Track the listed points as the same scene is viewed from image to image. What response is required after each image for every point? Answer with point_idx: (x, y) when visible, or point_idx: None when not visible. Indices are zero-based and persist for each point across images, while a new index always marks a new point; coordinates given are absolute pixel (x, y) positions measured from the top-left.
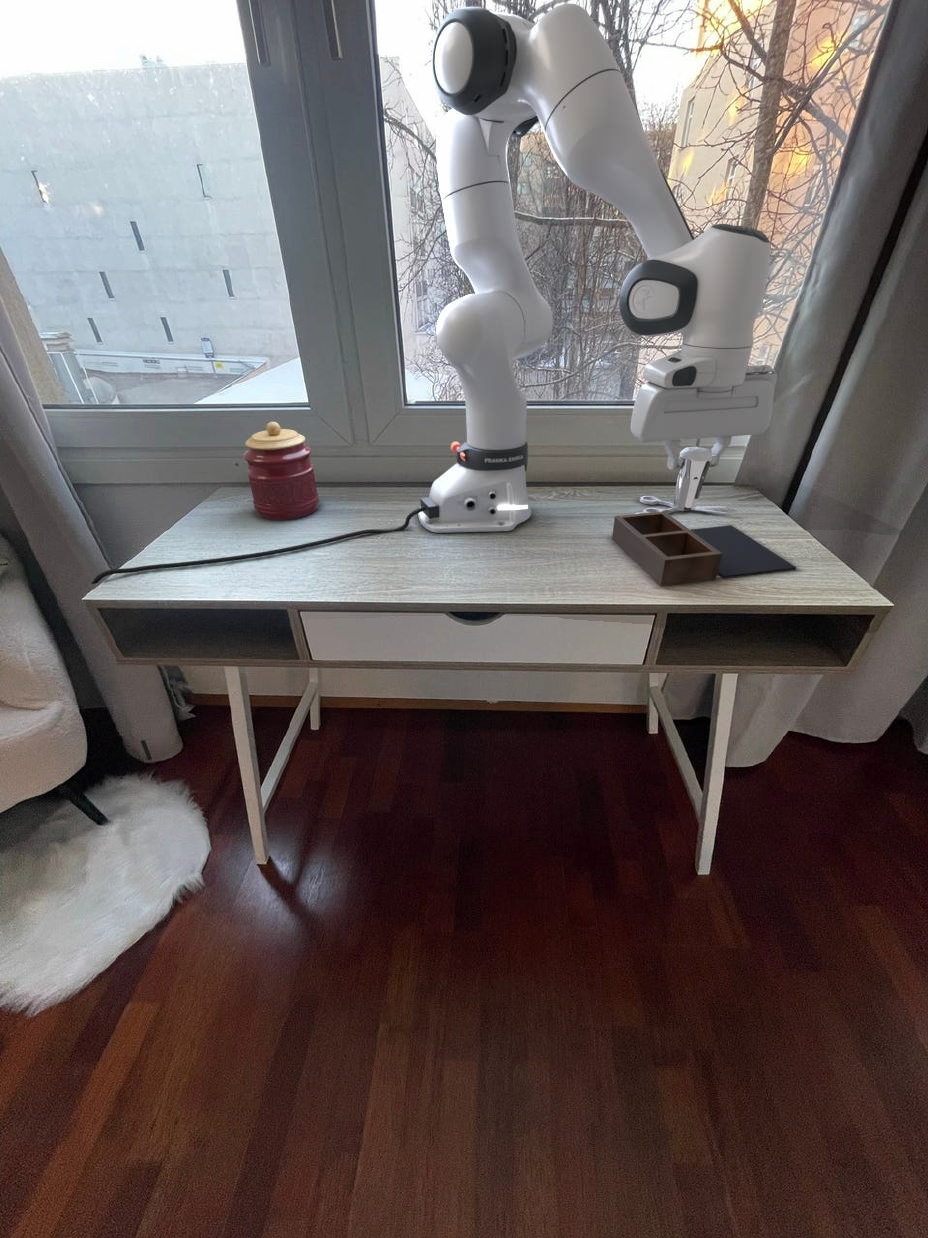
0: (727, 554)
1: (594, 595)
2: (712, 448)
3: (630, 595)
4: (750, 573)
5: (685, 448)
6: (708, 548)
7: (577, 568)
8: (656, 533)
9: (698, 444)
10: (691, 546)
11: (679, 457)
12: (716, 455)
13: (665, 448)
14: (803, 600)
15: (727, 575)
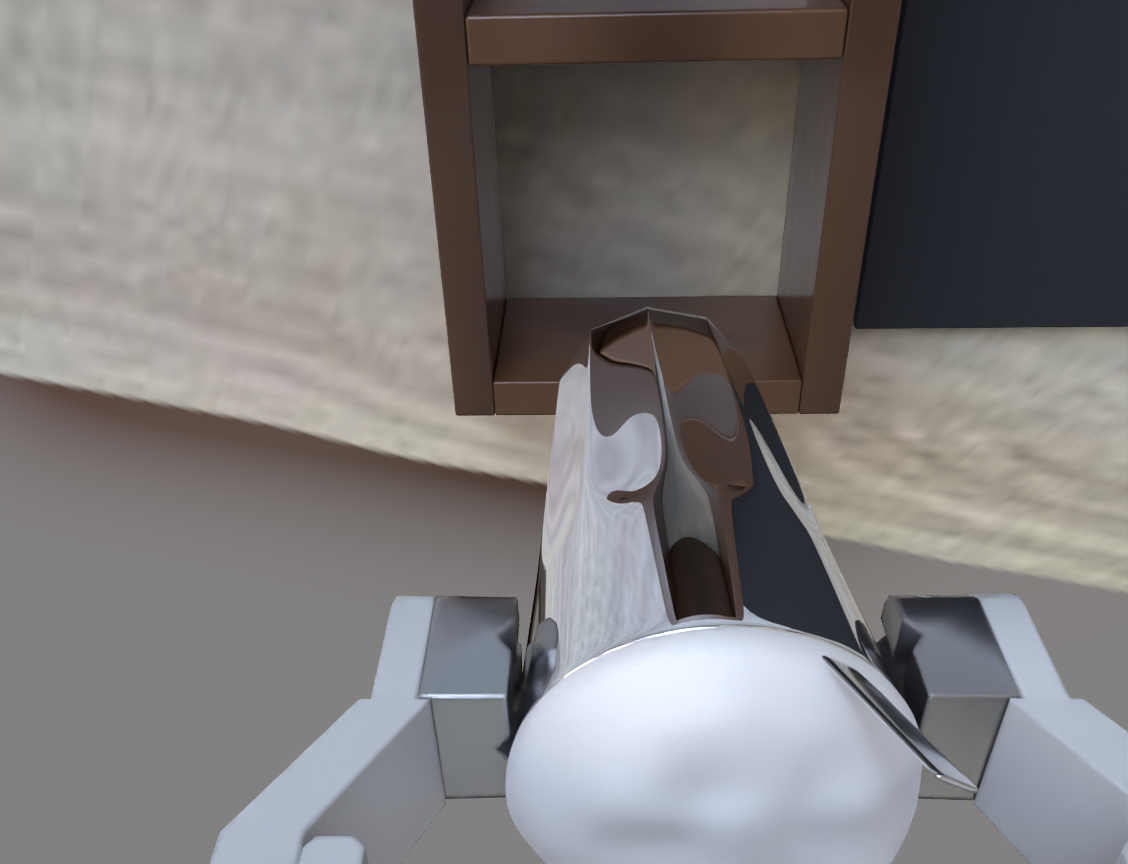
0: (1106, 78)
1: (103, 337)
2: (1051, 745)
3: (288, 373)
4: (1025, 325)
5: (584, 800)
6: (809, 332)
7: (30, 10)
8: (589, 20)
9: (897, 714)
10: (819, 122)
11: (472, 776)
12: (977, 796)
13: (280, 780)
14: (1042, 558)
15: (880, 327)
